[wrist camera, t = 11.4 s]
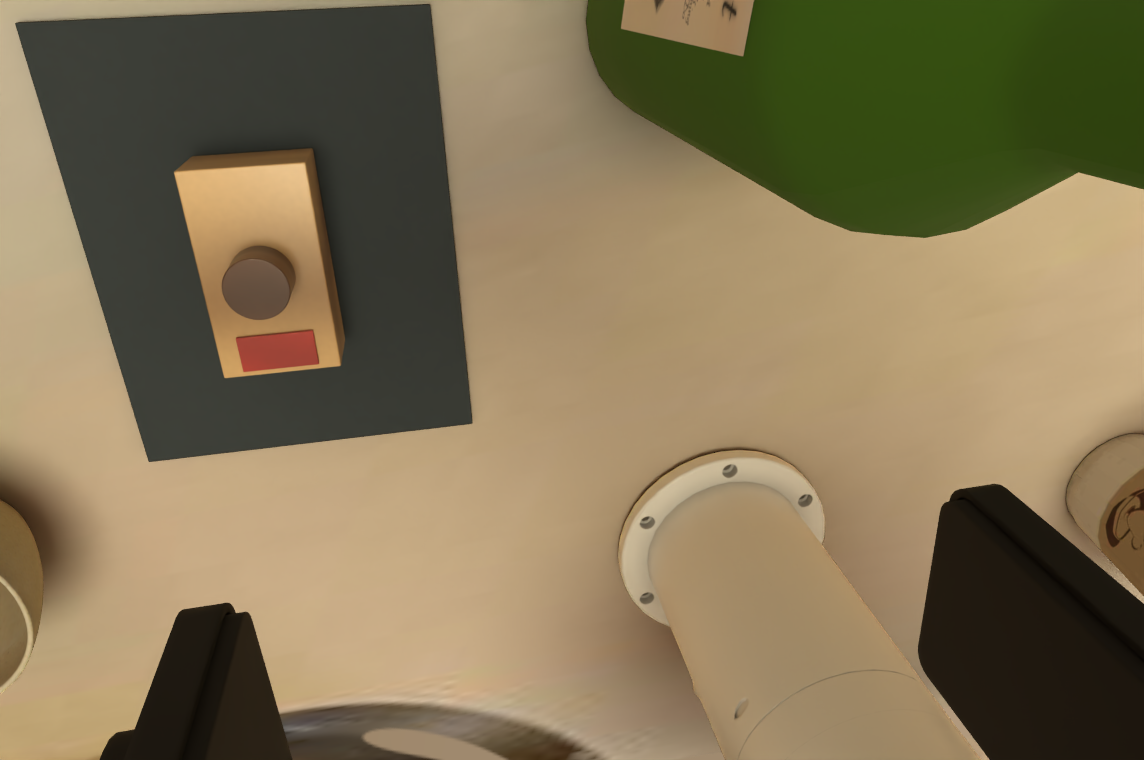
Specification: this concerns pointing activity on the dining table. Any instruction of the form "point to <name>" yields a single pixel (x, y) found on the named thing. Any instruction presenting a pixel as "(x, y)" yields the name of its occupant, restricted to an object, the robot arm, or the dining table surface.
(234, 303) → the stamp
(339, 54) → the desk mat
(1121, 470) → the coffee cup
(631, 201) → the dining table surface
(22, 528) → the beige bowl
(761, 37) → the wine bottle
